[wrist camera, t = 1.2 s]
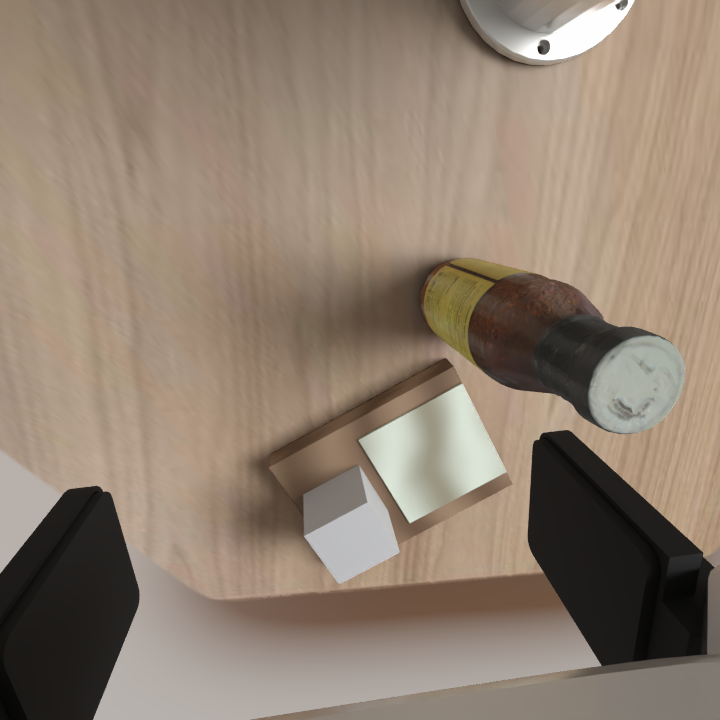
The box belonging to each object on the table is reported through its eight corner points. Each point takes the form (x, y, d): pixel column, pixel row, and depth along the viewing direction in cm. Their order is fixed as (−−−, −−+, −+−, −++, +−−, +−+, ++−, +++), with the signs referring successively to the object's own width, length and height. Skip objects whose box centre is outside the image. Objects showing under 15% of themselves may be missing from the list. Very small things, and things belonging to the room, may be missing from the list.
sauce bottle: (437, 350, 38) (573, 498, 19) (403, 279, 36) (518, 368, 17) (512, 310, 37) (725, 421, 19) (482, 237, 35) (689, 279, 17)
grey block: (358, 464, 38) (367, 502, 33) (387, 510, 39) (399, 552, 35) (303, 494, 38) (304, 536, 33) (334, 538, 40) (339, 584, 35)
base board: (446, 358, 38) (454, 367, 36) (502, 471, 42) (513, 485, 40) (270, 454, 39) (268, 468, 37) (342, 556, 43) (344, 574, 41)
